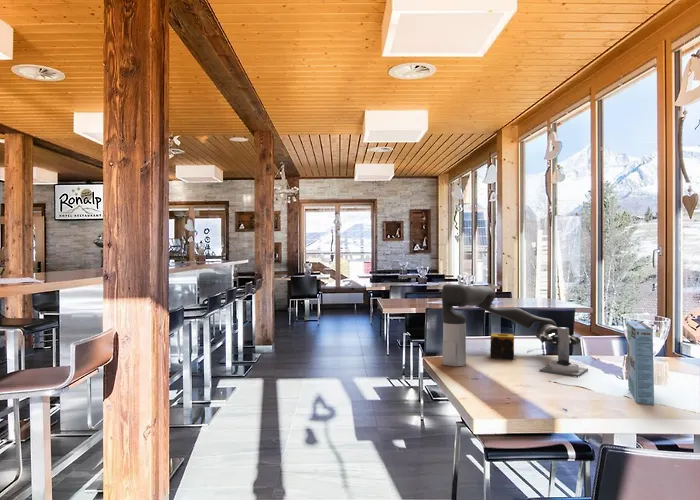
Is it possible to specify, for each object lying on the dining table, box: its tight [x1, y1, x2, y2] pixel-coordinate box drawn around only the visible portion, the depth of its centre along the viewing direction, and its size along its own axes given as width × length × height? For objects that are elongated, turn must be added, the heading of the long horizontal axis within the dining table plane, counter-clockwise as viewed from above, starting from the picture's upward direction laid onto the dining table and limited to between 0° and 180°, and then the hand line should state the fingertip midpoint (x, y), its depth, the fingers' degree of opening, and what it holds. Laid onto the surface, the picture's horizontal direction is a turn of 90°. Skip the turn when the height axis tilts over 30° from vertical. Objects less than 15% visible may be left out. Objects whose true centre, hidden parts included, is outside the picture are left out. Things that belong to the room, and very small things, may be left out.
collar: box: [538, 360, 589, 378], centre depth 185 cm, size 14×14×3 cm
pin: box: [557, 326, 570, 365], centre depth 185 cm, size 4×4×16 cm
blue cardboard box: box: [626, 320, 655, 406], centre depth 152 cm, size 20×5×23 cm, turn 156°
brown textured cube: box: [489, 332, 515, 361], centre depth 211 cm, size 10×10×10 cm
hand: (563, 341), depth 186 cm, fingers open, 8 cm apart
